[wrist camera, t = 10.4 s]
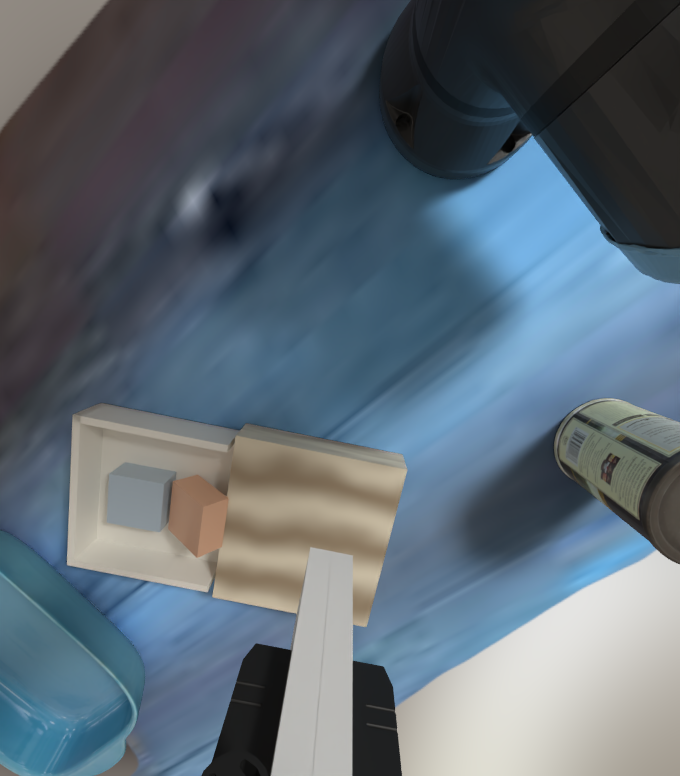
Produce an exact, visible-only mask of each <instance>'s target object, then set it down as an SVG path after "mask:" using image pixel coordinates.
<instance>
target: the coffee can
mask: <svg viewBox="0 0 680 776" xmlns="http://www.w3.org/2000/svg"><path fill="white" fill-rule="evenodd" d="M554 453H555V458H556V461H557V463H558V465H559V467H560V468H561V470H562V471H563V472H564V473H565V474H566V475H567V476H568V477H569V478H571V479H572V480H574V481H576V482H577V483H578V484H579V485H581V486H582V487H583V488H584V489H586V490H587V491H588V492H589V493H590V494H592V495H593V496H594V497H595V498H597V499H598V500H599V501H600V502H602V503H603V504H604V505H605V506H607V507H608V508H609V509H610V510H612V511H613V512H614V513H615V514H616V515H618V516H619V517H620V518H621V519H622V520H624V521H625V522H626V523H627V524H629V525H630V526H631V527H632V528H634V529H635V530H636V531H637V532H638V533H640V534H641V535H642V536H644V537H645V538H646V539H647V540H649V541H650V543H651V544H652V545H653V546H654V547H655V548H656V549H657V550H658V551H659V552H660V553H662V554H663V555H664V556H665V557H667V558H668V559H670V560H672V561H674V562H676V563H678V564H680V422H677V421H674V420H672V419H669V418H666V417H663V416H661V415H658V414H655V413H653V412H650V411H647V410H644V409H642V408H639V407H636V406H634V405H632V404H630V403H628V402H625V401H622V400H619V399H613V398H604V399H597V400H592V401H590V402H588V403H585V404H583V405H581V406H579V407H577V408H576V409H575V410H573V411H572V412H571V413H570V414H569V415H568V416H567V417H566V418H565V419H564V420H563V422H562V423H561V425H560V427H559V429H558V431H557V434H556V437H555V442H554Z"/></svg>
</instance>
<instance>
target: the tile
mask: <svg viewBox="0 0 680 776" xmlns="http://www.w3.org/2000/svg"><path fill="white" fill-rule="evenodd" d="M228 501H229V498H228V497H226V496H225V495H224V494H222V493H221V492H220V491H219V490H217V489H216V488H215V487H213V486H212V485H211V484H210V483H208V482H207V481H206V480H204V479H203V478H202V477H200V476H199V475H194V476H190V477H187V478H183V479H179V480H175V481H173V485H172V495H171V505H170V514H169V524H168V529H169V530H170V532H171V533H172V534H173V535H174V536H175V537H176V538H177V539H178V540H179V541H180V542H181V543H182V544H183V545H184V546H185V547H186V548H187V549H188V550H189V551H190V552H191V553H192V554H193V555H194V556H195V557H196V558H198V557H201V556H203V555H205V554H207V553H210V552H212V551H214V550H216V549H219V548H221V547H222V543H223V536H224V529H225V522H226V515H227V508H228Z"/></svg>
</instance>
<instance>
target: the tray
mask: <svg viewBox="0 0 680 776" xmlns="http://www.w3.org/2000/svg"><path fill="white" fill-rule="evenodd" d="M239 431H240V430H235V429H230V428H225V427H220V426H215V425H210V424H205V423H200V422H195V421H190V420H185V419H180V418H175V417H170V416H165V415H160V414H155V413H150V412H145V411H140V410H135V409H130V408H125V407H120V406H115V405H110V404H105V403H99V404H97V405H94V406H92V407H90V408H87V409H85V410H82V411H80V412H78V413H75V414H73V421H72V447H71V473H70V498H69V524H68V550H67V565H69V566H74V567H79V568H84V569H89V570H94V571H100V572H105V573H110V574H115V575H120V576H125V577H131V578H136V579H141V580H146V581H151V582H156V583H162V584H167V585H172V586H177V587H182V588H187V589H192V590H198V591H203V592H208V590H209V588H210V586H211V584H212V582H213V580H214V578H215V576H216V569H217V562H218V555H219V549H216V550H214V551H212V552H210V553H207V554H205V555H203V556H201V557H198V558H196V557H195V556H194V555H193V554H192V553H191V552H190V551H189V550H188V549H187V548H186V547H185V546H184V545H183V544H182V543H181V542H180V541H179V540H178V539H177V538H176V537H175V536H174V535H173V534H172V533H171V532H170V530H169V529H168V524H169V522H168V523H167V525H166V526H165V527H164V528H163V529H162V531H161V532H155V531H149V530H144V529H138V528H133V527H128V526H122V525H117V524H111V523H107V505H108V485H109V473H111V472H112V471H114V470H115V469H116V468H118V467H119V466H121V465H122V464H123V463H125V462H127V463H132V464H138V465H143V466H148V467H154V468H159V469H165V470H170V471H175V472H177V473H176V480H179V479H183V478H187V477H190V476H194V475H199V476H200V477H202V478H203V479H204V480H206V481H207V482H208V483H210V484H211V485H212V486H213V487H215V488H216V489H217V490H219V491H220V492H221V493H222V494H224V495H225V496H226V497H227V492H228V485H229V478H230V471H231V465H232V458H233V451H234V444H235V437H236V435H237V433H238V432H239Z"/></svg>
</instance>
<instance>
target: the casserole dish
mask: <svg viewBox="0 0 680 776" xmlns="http://www.w3.org/2000/svg"><path fill="white" fill-rule="evenodd" d="M144 684H145V669H144V665H143V662H142V659H141V657H140V655H139V653H138V652H137V650H136V649H135V647H134V646H133V645H132V644H131V642H130V641H129V640H128V639H127V638H126V637H125V636H124V635H123V634H122V633H121V632H120V631H119V630H118V629H117V628H116V627H115V626H114V625H113V624H112V623H111V622H110V621H109V620H108V619H107V618H106V617H105V616H104V615H103V614H102V613H100V612H99V611H98V610H97V609H96V608H95V607H94V606H93V605H92V604H91V603H90V602H89V601H88V600H87V599H86V598H85V597H83V596H82V595H81V594H80V593H79V592H78V591H77V590H76V589H75V588H74V587H73V586H72V585H71V584H70V583H69V582H68V581H67V580H66V579H65V578H64V577H63V576H61V575H60V574H59V573H58V572H57V571H56V570H55V569H54V568H53V567H52V566H51V565H50V564H49V563H47V562H46V561H45V560H44V559H43V558H42V557H41V556H39V555H38V554H37V553H36V552H35V551H34V550H32V549H31V548H30V547H28V546H27V545H26V544H24V543H23V542H22V541H20V540H19V539H17V538H16V537H14V536H13V535H11V534H9V533H7V532H5V531H2V530H0V764H1V765H3V766H4V767H6V768H7V769H9V770H11V771H12V772H14V773H16V774H18V775H20V776H94V775H97V774H100V773H102V772H104V771H106V770H108V769H109V768H111V767H112V766H114V765H115V764H116V763H117V762H118V761H119V760H120V759H121V758H122V757H123V755H124V753H125V750H126V737H127V736H128V735H129V734H130V733H131V731H132V730H133V728H134V726H135V724H136V722H137V718H138V714H139V709H140V705H141V700H142V695H143V690H144Z"/></svg>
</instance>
